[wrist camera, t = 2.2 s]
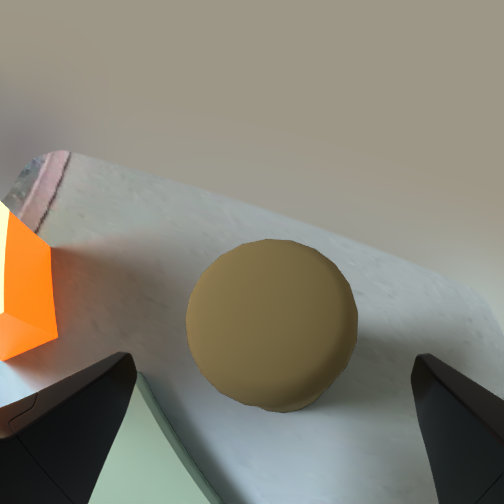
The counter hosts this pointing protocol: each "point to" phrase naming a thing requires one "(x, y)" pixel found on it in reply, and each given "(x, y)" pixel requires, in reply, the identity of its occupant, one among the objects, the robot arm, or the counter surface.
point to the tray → (150, 460)
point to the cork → (272, 324)
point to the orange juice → (24, 288)
